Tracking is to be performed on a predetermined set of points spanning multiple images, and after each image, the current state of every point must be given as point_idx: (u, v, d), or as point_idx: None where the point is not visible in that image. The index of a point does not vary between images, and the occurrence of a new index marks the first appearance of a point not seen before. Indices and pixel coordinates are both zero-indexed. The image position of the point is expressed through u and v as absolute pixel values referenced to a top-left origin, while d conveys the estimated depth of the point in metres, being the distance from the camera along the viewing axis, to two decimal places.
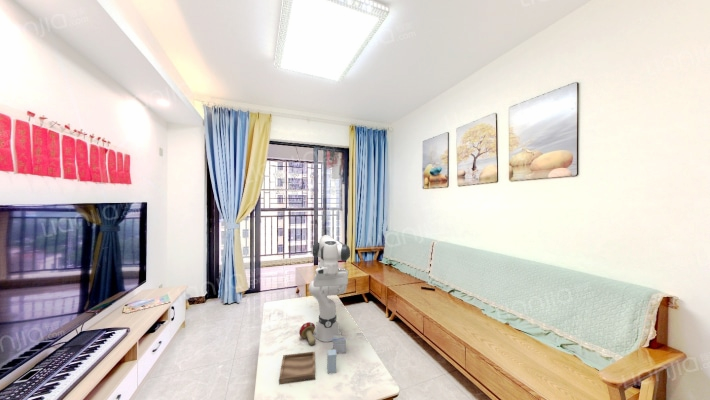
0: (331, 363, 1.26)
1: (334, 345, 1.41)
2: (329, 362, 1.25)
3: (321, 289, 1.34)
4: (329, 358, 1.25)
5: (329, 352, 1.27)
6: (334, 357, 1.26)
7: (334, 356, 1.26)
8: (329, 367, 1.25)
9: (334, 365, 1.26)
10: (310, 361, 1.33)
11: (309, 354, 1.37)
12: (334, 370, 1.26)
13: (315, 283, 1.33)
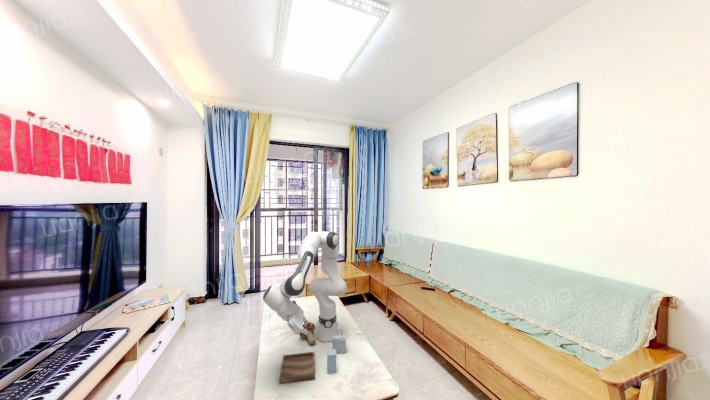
0: (331, 363, 1.26)
1: (334, 345, 1.41)
2: (329, 362, 1.25)
3: None
4: (329, 358, 1.25)
5: (329, 352, 1.27)
6: (334, 357, 1.26)
7: (334, 356, 1.26)
8: (329, 367, 1.25)
9: (334, 365, 1.26)
10: (310, 361, 1.33)
11: (309, 354, 1.37)
12: (334, 370, 1.26)
13: None
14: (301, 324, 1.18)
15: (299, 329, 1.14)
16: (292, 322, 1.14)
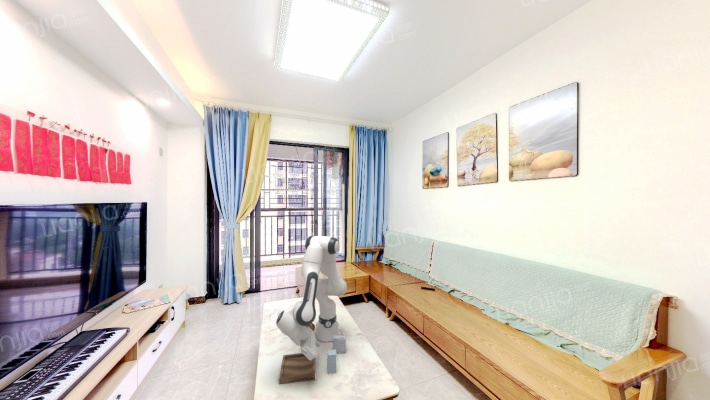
0: (331, 363, 1.26)
1: (334, 345, 1.41)
2: (329, 362, 1.25)
3: None
4: (329, 358, 1.25)
5: (329, 352, 1.27)
6: (334, 357, 1.26)
7: (334, 356, 1.26)
8: (329, 367, 1.25)
9: (334, 365, 1.26)
10: (310, 361, 1.33)
11: None
12: (334, 370, 1.26)
13: None
14: (314, 350, 1.19)
15: (312, 355, 1.16)
16: (305, 348, 1.16)
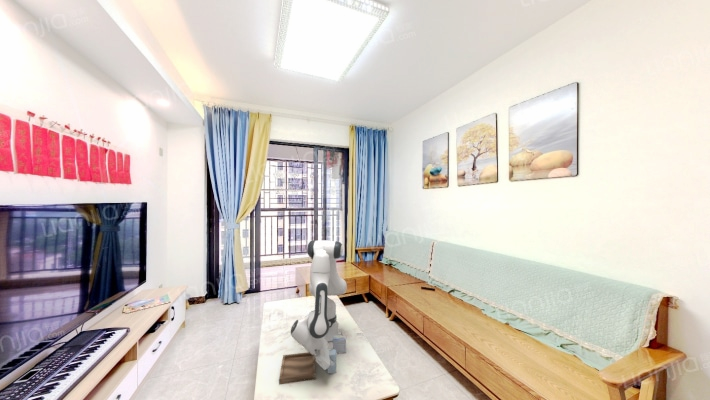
0: None
1: (334, 345, 1.41)
2: None
3: None
4: None
5: (329, 352, 1.27)
6: (334, 357, 1.26)
7: (334, 356, 1.26)
8: (329, 367, 1.25)
9: (334, 365, 1.26)
10: (310, 361, 1.33)
11: (309, 354, 1.37)
12: (334, 370, 1.26)
13: None
14: (328, 359, 1.21)
15: (327, 364, 1.17)
16: (320, 358, 1.17)
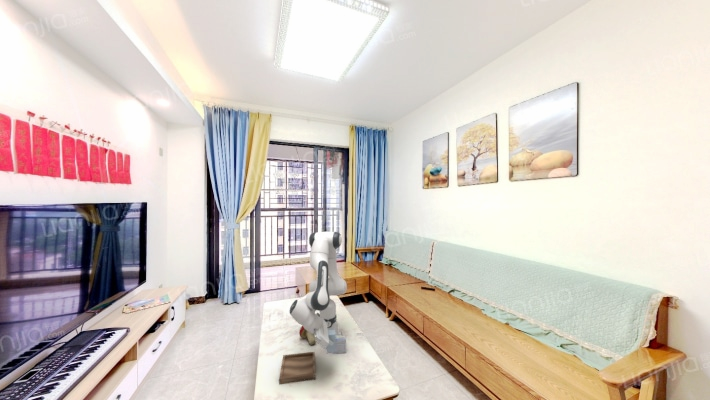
0: None
1: None
2: None
3: None
4: None
5: (328, 332, 1.27)
6: (333, 337, 1.26)
7: (333, 336, 1.26)
8: (328, 347, 1.25)
9: (333, 345, 1.26)
10: (310, 361, 1.33)
11: (309, 354, 1.37)
12: (333, 350, 1.26)
13: None
14: (327, 338, 1.21)
15: (326, 343, 1.17)
16: (319, 336, 1.17)
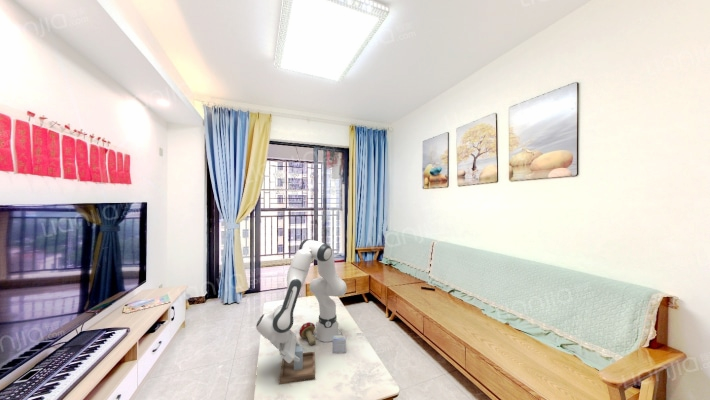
0: None
1: (334, 345, 1.41)
2: None
3: None
4: None
5: (296, 349, 1.28)
6: (300, 354, 1.26)
7: (300, 352, 1.26)
8: (295, 364, 1.26)
9: (300, 362, 1.26)
10: (310, 361, 1.33)
11: (309, 354, 1.37)
12: (300, 367, 1.26)
13: None
14: (293, 353, 1.21)
15: (291, 358, 1.18)
16: (284, 351, 1.18)
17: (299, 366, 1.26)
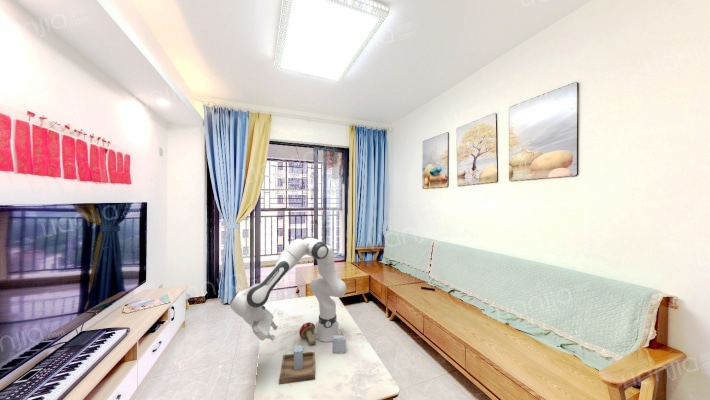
0: (297, 359, 1.26)
1: (334, 345, 1.41)
2: (295, 359, 1.26)
3: None
4: (295, 355, 1.26)
5: (296, 349, 1.28)
6: (300, 354, 1.26)
7: (300, 352, 1.26)
8: (295, 364, 1.26)
9: (300, 362, 1.26)
10: (310, 361, 1.33)
11: (309, 354, 1.37)
12: (300, 367, 1.26)
13: None
14: (267, 330, 1.19)
15: (264, 335, 1.15)
16: (257, 328, 1.15)
17: (299, 366, 1.26)
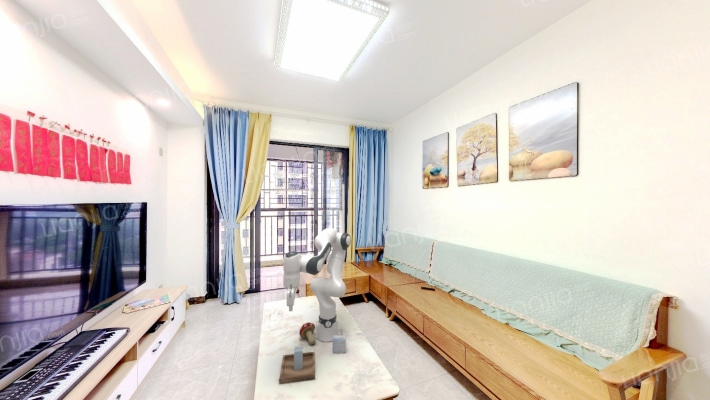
0: (297, 359, 1.26)
1: (334, 345, 1.41)
2: (295, 359, 1.26)
3: None
4: (295, 355, 1.26)
5: (296, 349, 1.28)
6: (300, 354, 1.26)
7: (300, 352, 1.26)
8: (295, 364, 1.26)
9: (300, 362, 1.26)
10: (310, 361, 1.33)
11: (309, 354, 1.37)
12: (300, 367, 1.26)
13: None
14: None
15: (292, 303, 1.19)
16: (292, 293, 1.20)
17: (299, 366, 1.26)
